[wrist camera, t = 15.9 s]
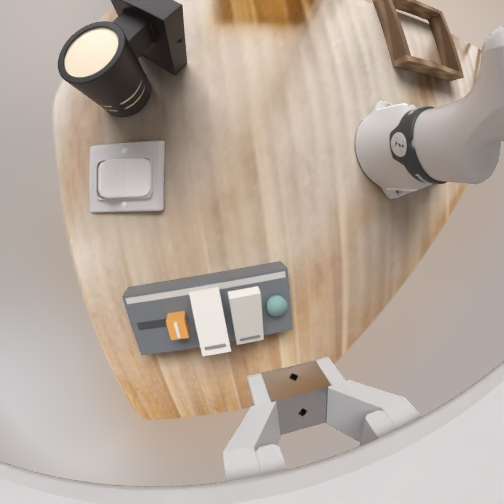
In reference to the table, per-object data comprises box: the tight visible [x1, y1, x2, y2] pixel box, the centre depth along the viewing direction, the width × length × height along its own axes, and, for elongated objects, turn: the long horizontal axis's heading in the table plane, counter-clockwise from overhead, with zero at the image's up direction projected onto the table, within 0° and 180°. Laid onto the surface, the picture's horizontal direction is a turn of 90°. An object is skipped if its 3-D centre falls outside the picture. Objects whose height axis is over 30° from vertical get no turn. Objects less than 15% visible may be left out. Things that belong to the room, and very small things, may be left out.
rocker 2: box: [228, 286, 264, 345], centre depth 43 cm, size 4×10×2 cm, turn 8°
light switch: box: [89, 140, 165, 213], centre depth 40 cm, size 11×4×13 cm
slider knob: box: [166, 311, 189, 340], centre depth 42 cm, size 3×3×3 cm
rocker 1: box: [189, 286, 231, 356], centre depth 42 cm, size 4×10×2 cm, turn 8°
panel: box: [122, 261, 293, 355], centre depth 46 cm, size 26×11×5 cm, turn 98°
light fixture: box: [58, 0, 187, 117], centre depth 29 cm, size 10×14×18 cm
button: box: [265, 294, 287, 316], centre depth 45 cm, size 3×3×1 cm
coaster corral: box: [373, 0, 464, 81], centre depth 39 cm, size 19×19×5 cm
